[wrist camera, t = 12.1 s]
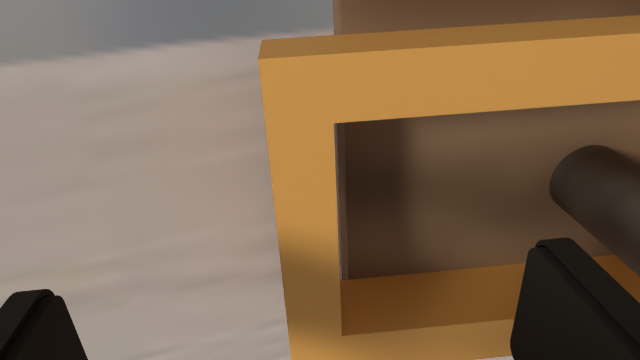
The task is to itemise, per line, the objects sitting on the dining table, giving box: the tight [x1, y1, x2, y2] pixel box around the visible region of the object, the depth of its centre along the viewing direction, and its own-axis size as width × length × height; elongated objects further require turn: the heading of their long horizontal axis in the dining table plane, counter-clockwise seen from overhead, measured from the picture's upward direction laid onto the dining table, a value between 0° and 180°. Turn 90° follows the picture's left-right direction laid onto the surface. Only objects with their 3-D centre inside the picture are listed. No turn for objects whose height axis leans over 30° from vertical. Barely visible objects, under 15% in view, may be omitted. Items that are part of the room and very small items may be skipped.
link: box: [258, 15, 640, 360], centre depth 14 cm, size 16×10×3 cm, turn 93°
